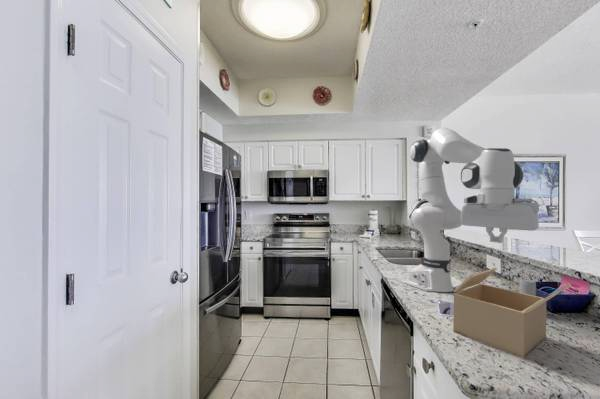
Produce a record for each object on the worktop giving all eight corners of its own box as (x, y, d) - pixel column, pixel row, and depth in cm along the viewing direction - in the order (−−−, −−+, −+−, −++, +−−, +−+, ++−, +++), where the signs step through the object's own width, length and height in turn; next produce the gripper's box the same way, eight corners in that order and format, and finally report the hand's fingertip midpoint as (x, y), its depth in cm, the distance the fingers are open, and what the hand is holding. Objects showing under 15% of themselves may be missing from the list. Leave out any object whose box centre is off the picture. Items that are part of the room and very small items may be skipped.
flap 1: (497, 268, 95) (495, 267, 95) (472, 276, 84) (470, 275, 84) (480, 282, 99) (479, 281, 99) (454, 292, 88) (453, 290, 88)
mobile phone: (438, 313, 101) (437, 299, 114) (438, 315, 101) (437, 302, 114) (462, 316, 98) (458, 303, 111) (462, 319, 98) (458, 305, 111)
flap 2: (551, 294, 69) (553, 296, 69) (570, 282, 80) (572, 284, 79) (524, 311, 73) (526, 313, 73) (546, 297, 84) (547, 299, 84)
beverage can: (538, 315, 101) (539, 282, 101) (523, 314, 102) (524, 281, 102) (530, 310, 106) (530, 279, 106) (516, 309, 107) (516, 278, 107)
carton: (453, 331, 88) (453, 293, 88) (480, 317, 99) (481, 283, 99) (523, 358, 73) (524, 313, 73) (546, 337, 84) (546, 298, 84)
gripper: (542, 198, 80) (541, 246, 80) (467, 198, 97) (466, 237, 97) (535, 198, 77) (535, 248, 77) (458, 198, 93) (458, 239, 93)
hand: (496, 242), depth 87 cm, fingers closed
